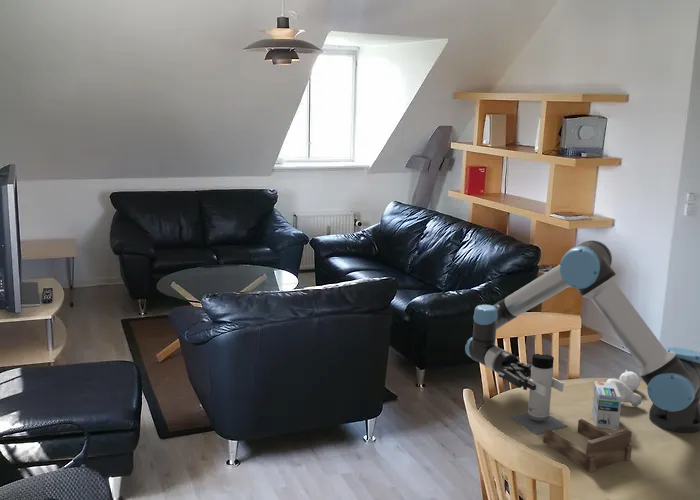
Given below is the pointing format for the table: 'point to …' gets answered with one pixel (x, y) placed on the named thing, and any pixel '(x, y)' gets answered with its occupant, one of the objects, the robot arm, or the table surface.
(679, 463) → the table surface
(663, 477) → the table surface
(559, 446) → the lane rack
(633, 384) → the ornament
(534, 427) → the grey mat
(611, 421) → the light bulb box
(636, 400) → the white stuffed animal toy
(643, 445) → the table surface
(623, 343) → the robot arm
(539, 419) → the travel mug
